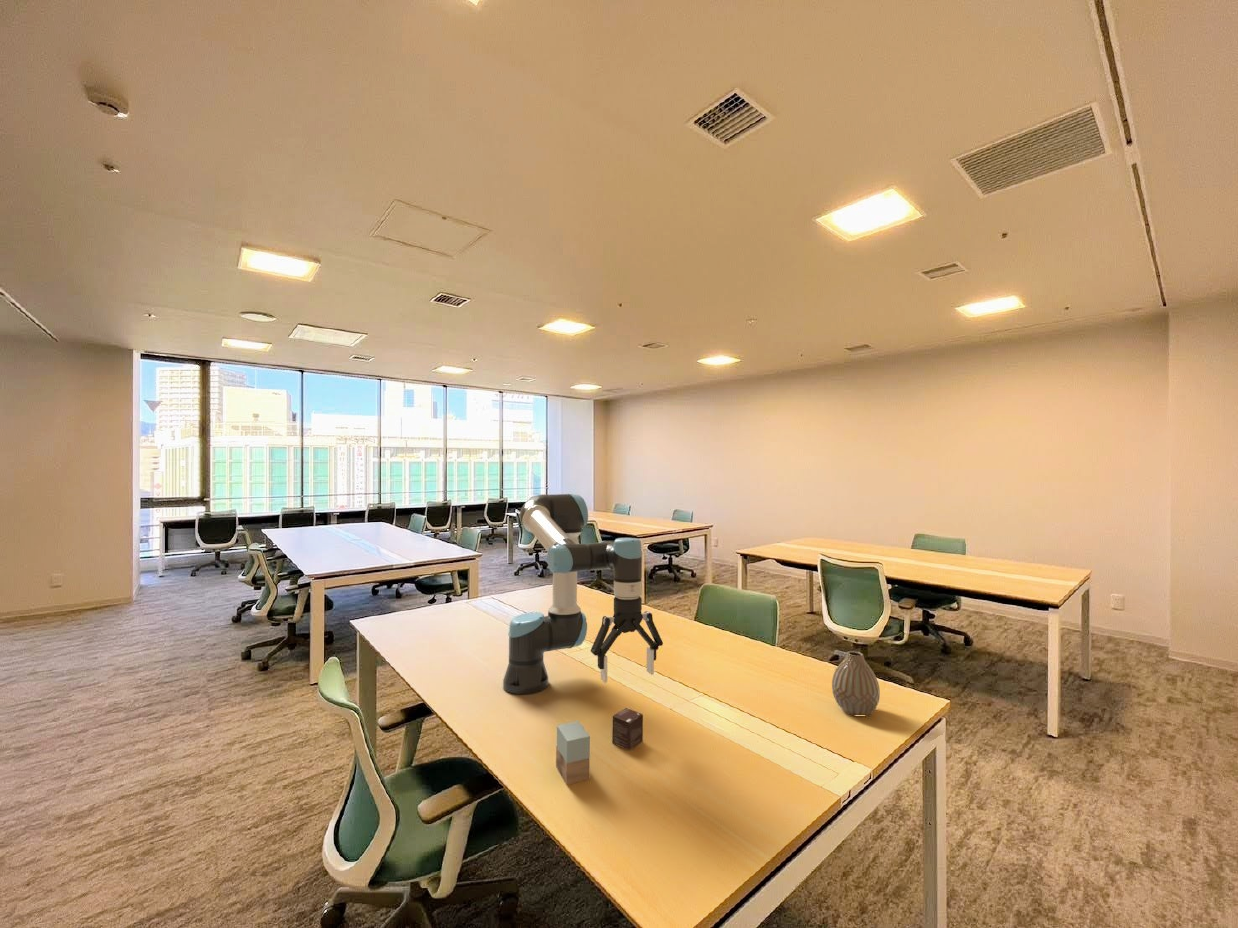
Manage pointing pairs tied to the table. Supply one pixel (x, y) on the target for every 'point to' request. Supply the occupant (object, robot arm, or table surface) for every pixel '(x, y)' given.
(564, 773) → the tower base
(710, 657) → the table surface
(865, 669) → the vase
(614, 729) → the box
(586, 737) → the tower top
